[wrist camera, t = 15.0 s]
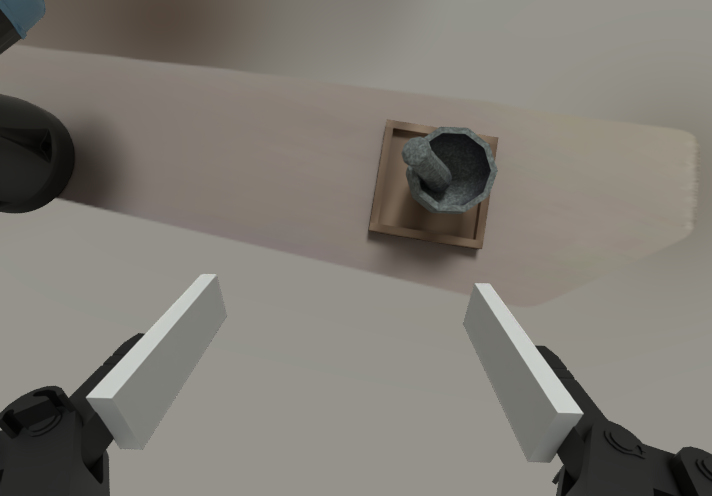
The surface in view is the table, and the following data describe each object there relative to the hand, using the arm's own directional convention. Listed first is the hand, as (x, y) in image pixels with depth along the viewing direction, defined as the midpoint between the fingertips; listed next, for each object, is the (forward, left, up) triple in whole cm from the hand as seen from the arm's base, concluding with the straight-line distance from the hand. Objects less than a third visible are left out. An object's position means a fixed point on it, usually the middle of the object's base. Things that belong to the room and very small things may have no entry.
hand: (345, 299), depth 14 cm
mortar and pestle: (0, +16, -22) cm, 28 cm away
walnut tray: (+1, +16, -23) cm, 28 cm away
